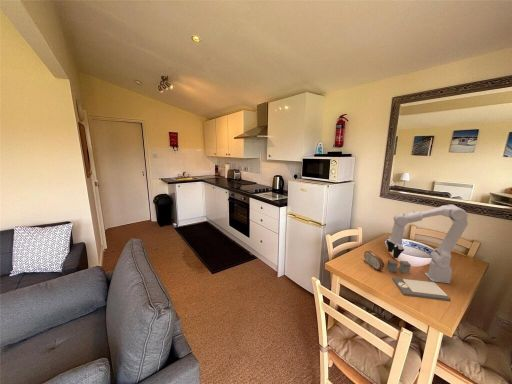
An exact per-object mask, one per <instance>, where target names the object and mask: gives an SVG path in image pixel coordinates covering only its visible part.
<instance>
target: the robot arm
mask: <svg viewBox="0 0 512 384" xmlns="http://www.w3.org/2000/svg"><path fill="white" fill-rule="evenodd" d="M435 216H436V217H437V216H443V217H446V218H449V219H450V220H451V222H452V225H451V227H450V228H449V230H448V231H447V233H446V235H445V236H444V238H443V239H442V241H441V243H440V244H439V246H438V247H435V249H434V250H432V251H431V252H430V253H429V257H430V259H431V260H430V264H429V268H428V272H424V275H425V276H426V277H427V278H428V279H429V280H430V281H431V282H434V283H435V282H437V283H444V284H451V277H452V274H453V269H452V267H451V266H450V265H451V259H452V255H451V254H452V251H453V250H454V248H455V247H456V244H457V243H458V242H459V240H460V239H461V237H462V236H463V233H464V232H465V230H466V228H467V227H468V217H469V214H468V213H467V212H466V211H465V210H464V208H460V207H458V206H456V205H455V204H453V203H450V204H445V205H443V204H442V205H441V206H439V207H435V208H432V209H427V210H424V211H418V210H412V211H411V212H407V213H406V212H405V213H403V212H402V214H400V213H397V214H395V215H394V217H393V226H392V229H391V235H388V239H386V244H387V252H388V253H392V258H393V259H398V258H399V256H401V254H402V253H403V252H404V251H405V248H404V246H403V243H402V241H403V237H404V232H405V227H406V226H407V225H408V224H412V223H416V222H421V221H423V219H425V218H430V217H435Z"/></svg>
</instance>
